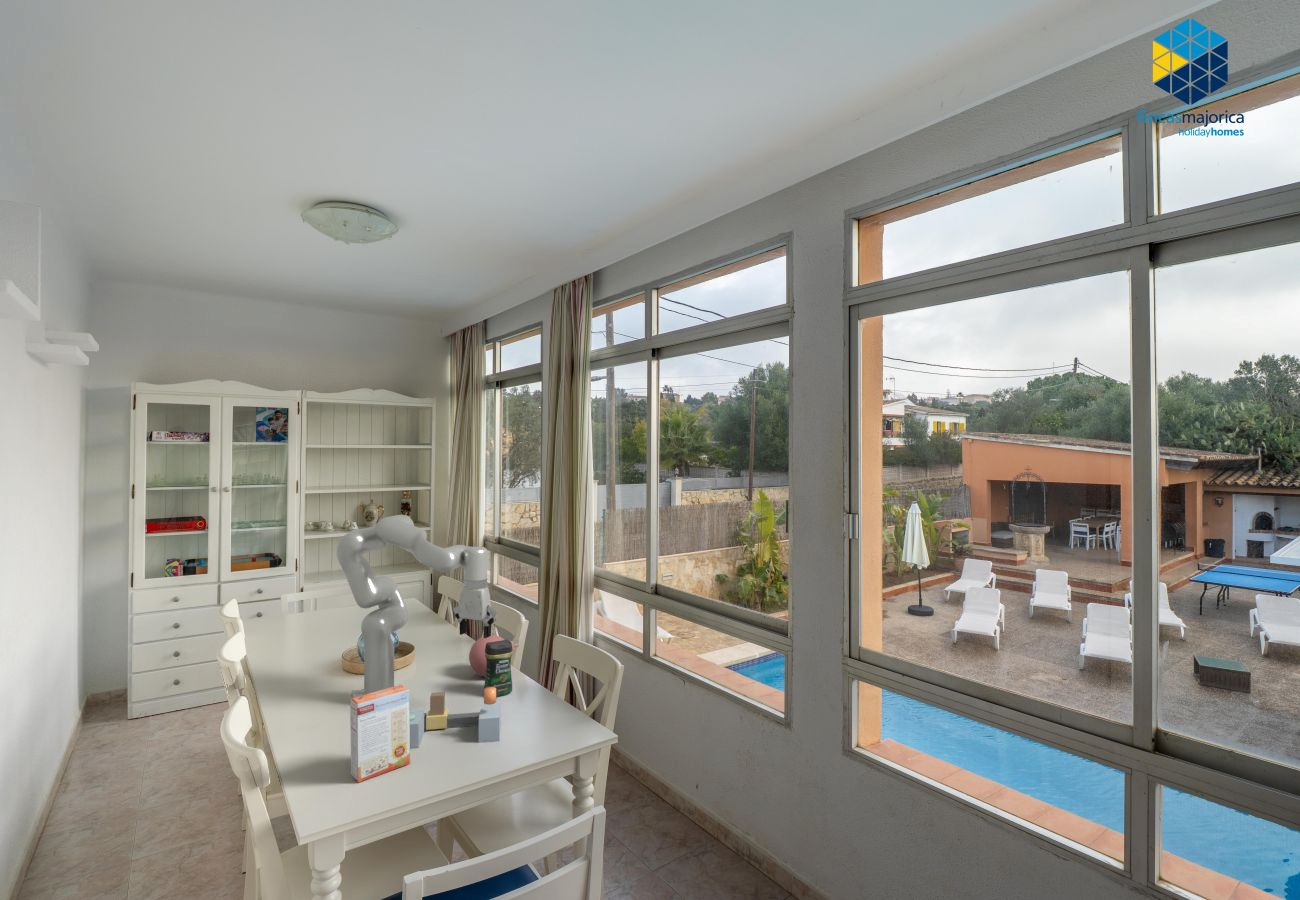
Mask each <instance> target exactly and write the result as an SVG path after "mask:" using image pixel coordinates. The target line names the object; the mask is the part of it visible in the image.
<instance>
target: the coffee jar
mask: <svg viewBox="0 0 1300 900" xmlns="http://www.w3.org/2000/svg"><path fill="white" fill-rule="evenodd" d="M510 641H511V640H510V639H504V640H502V641H495V642H488V643H486V647H485V657H486V660H487V666H486V676H485V678H484V683H483V685H484V687H483V690H484V689H485V688H487V687H495V688H496V698H497V697H500V696H506V695H509V694H511V693H512V691H513V681H512V680H513V677H512V670H511V669H512V668H511V666H512V665H511V661H512V660H511V659H512V657H513V652H514V651H513V650H512V643H511V642H510Z"/></svg>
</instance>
